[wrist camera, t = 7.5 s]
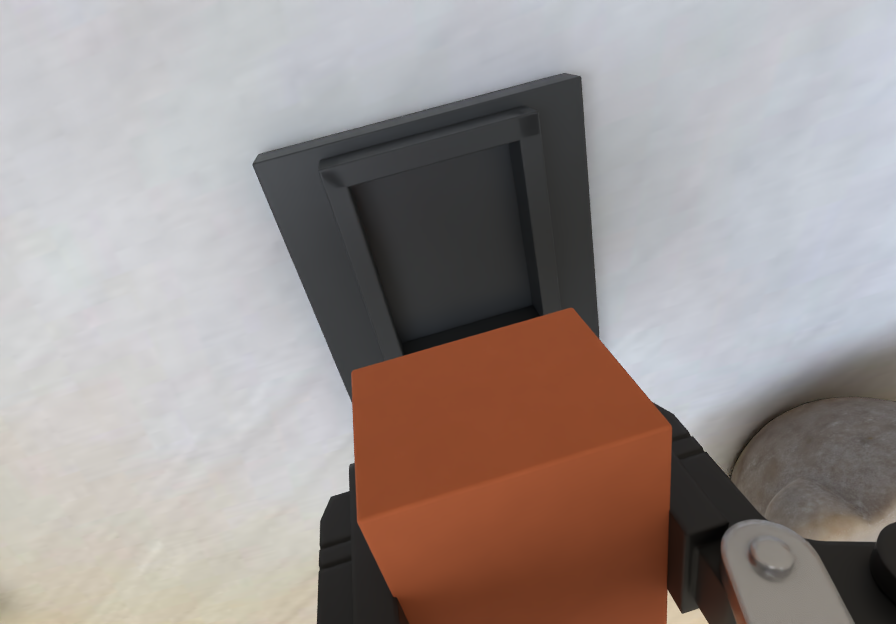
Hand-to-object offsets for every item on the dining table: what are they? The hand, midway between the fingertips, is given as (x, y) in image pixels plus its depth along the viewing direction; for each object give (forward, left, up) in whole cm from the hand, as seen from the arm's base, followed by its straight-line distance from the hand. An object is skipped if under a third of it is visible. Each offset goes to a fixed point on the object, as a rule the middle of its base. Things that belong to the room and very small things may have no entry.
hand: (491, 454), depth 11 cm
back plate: (+5, +1, -12) cm, 13 cm away
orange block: (0, 0, 0) cm, 0 cm away
